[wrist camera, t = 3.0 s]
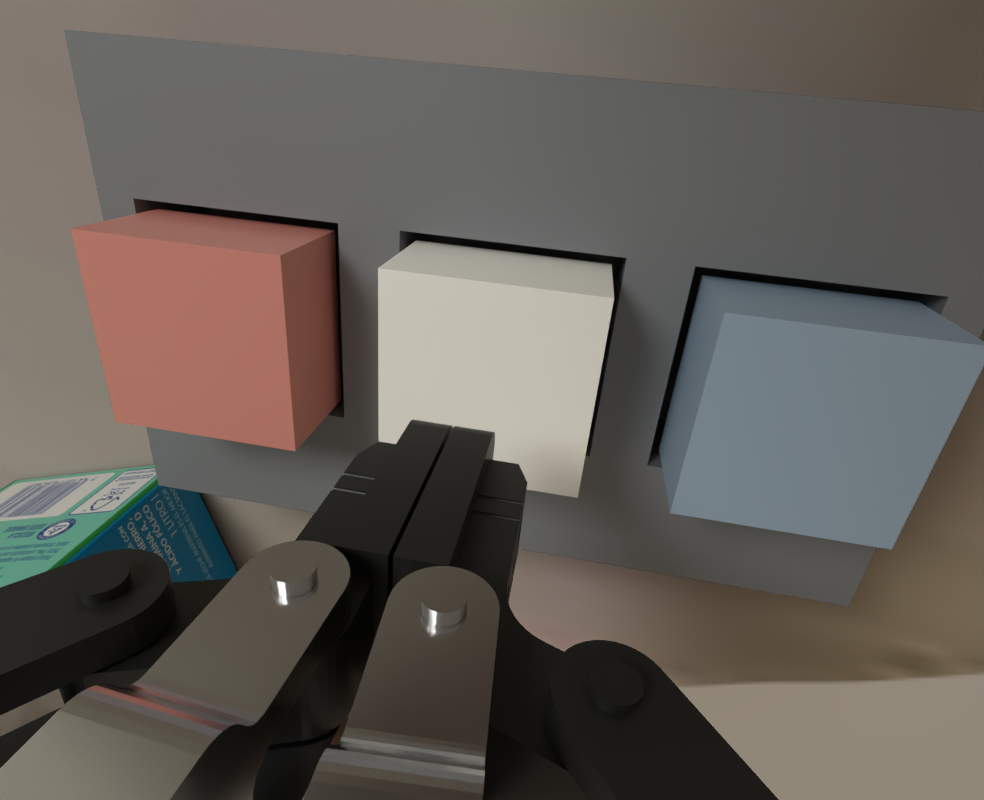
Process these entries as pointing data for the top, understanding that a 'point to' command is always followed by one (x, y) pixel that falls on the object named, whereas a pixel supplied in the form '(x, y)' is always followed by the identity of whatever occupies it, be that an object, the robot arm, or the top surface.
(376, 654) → the robot arm
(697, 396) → the blue key
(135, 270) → the red key
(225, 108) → the key panel
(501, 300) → the white key
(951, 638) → the top surface
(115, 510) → the milk carton
